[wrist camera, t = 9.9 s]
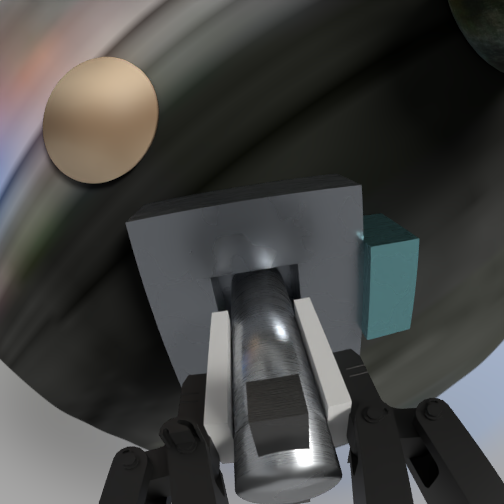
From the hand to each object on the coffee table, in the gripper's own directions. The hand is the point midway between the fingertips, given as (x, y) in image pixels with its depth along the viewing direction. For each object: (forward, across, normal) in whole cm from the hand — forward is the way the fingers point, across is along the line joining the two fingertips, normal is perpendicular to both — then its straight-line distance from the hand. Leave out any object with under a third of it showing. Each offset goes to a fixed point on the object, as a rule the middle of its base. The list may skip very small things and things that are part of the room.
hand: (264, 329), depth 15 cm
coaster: (+6, -8, +12) cm, 16 cm away
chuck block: (+6, +1, 0) cm, 6 cm away
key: (+5, 0, 0) cm, 5 cm away
